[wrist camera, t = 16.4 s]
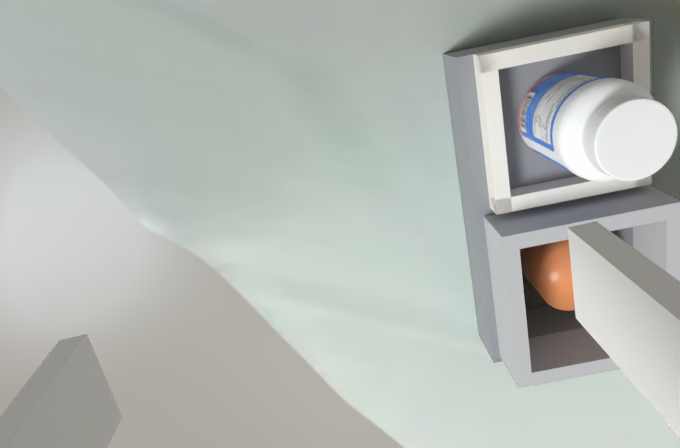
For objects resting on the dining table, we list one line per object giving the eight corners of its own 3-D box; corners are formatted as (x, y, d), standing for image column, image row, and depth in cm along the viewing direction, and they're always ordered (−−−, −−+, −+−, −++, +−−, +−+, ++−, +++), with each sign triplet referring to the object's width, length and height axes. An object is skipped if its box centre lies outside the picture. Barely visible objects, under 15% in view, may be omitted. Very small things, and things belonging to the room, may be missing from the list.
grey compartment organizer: (442, 54, 39) (473, 62, 32) (619, 17, 39) (693, 17, 31) (479, 334, 46) (511, 395, 39) (627, 306, 46) (689, 362, 39)
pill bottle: (615, 121, 37) (714, 152, 28) (544, 172, 38) (616, 219, 29) (572, 50, 36) (661, 59, 26) (498, 106, 36) (559, 133, 27)
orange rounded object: (516, 232, 43) (535, 252, 39) (583, 219, 43) (608, 237, 39) (522, 292, 44) (540, 316, 41) (587, 280, 44) (611, 303, 41)
